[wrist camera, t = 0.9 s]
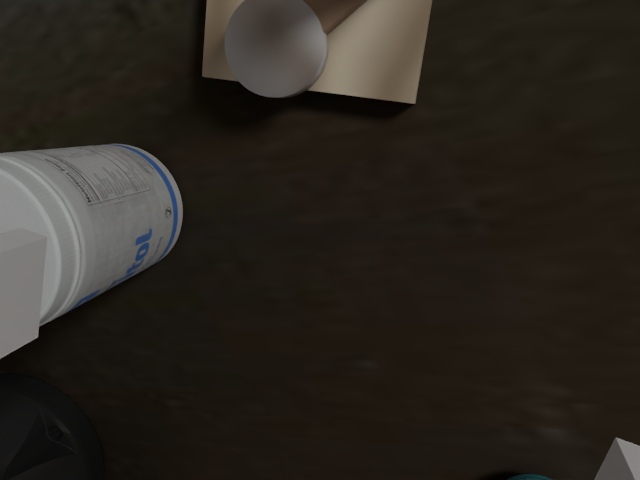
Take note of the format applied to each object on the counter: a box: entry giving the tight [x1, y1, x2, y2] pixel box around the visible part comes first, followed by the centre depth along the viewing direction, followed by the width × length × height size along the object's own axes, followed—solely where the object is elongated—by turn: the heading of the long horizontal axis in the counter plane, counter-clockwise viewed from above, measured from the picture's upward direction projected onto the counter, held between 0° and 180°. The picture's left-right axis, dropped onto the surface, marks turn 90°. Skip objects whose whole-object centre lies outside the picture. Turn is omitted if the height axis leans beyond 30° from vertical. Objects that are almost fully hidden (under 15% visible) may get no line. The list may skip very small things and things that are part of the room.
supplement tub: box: [0, 144, 183, 326], centre depth 34 cm, size 10×10×15 cm
